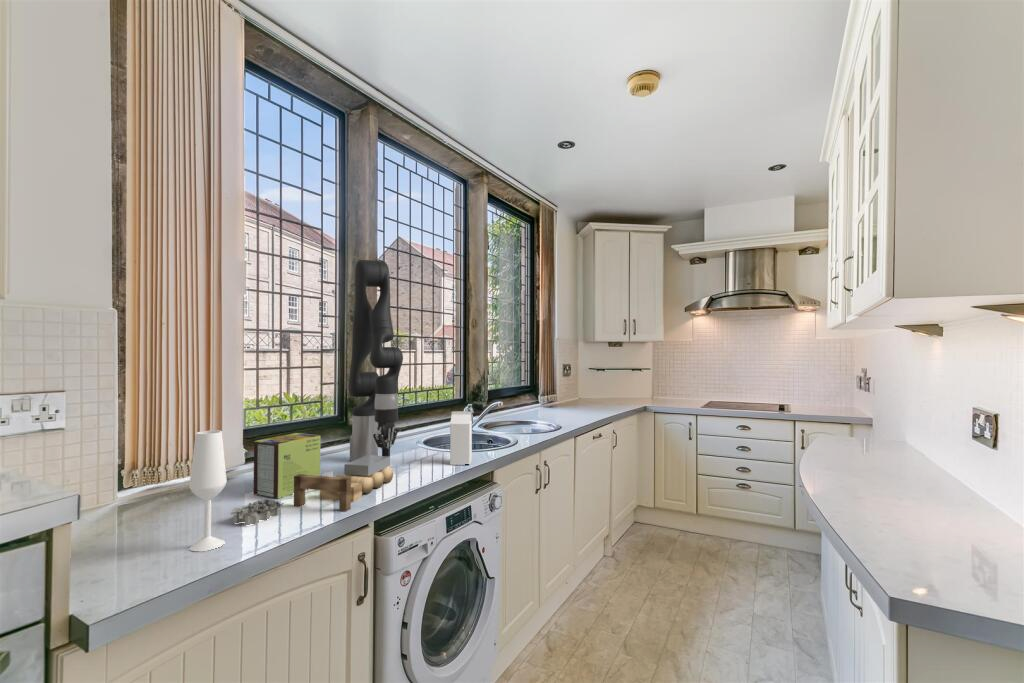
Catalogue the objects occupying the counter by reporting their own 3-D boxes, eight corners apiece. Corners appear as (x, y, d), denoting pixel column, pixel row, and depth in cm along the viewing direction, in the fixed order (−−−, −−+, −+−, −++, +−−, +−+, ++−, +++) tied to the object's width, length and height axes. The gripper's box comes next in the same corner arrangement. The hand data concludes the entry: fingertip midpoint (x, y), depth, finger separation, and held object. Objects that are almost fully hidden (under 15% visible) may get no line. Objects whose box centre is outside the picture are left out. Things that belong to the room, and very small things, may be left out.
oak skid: (361, 498, 135) (361, 483, 135) (353, 502, 131) (353, 487, 131) (329, 495, 138) (329, 480, 138) (320, 499, 134) (320, 484, 134)
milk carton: (469, 465, 173) (469, 412, 174) (450, 465, 173) (450, 412, 174) (471, 460, 180) (471, 410, 181) (452, 460, 180) (453, 410, 181)
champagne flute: (180, 552, 98) (182, 434, 99) (201, 539, 105) (203, 429, 106) (213, 552, 98) (215, 435, 99) (232, 539, 105) (233, 429, 106)
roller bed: (332, 492, 140) (332, 477, 140) (363, 478, 156) (363, 464, 156) (365, 495, 137) (365, 479, 137) (393, 480, 153) (393, 466, 153)
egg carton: (250, 529, 112) (250, 511, 112) (226, 524, 115) (226, 507, 115) (286, 514, 122) (286, 498, 122) (264, 510, 125) (264, 494, 125)
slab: (344, 474, 143) (344, 464, 143) (367, 464, 156) (367, 455, 156) (368, 476, 141) (368, 465, 141) (390, 465, 154) (390, 456, 154)
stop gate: (293, 506, 127) (293, 476, 128) (298, 504, 129) (299, 474, 130) (346, 511, 124) (346, 480, 124) (350, 508, 125) (350, 478, 126)
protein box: (320, 485, 147) (321, 434, 148) (277, 499, 133) (278, 443, 134) (296, 481, 152) (297, 432, 152) (252, 494, 138) (252, 440, 138)
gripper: (386, 409, 152) (386, 464, 152) (405, 405, 165) (405, 455, 164) (365, 409, 154) (365, 463, 153) (386, 404, 167) (385, 454, 166)
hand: (386, 459), depth 159 cm, fingers closed
